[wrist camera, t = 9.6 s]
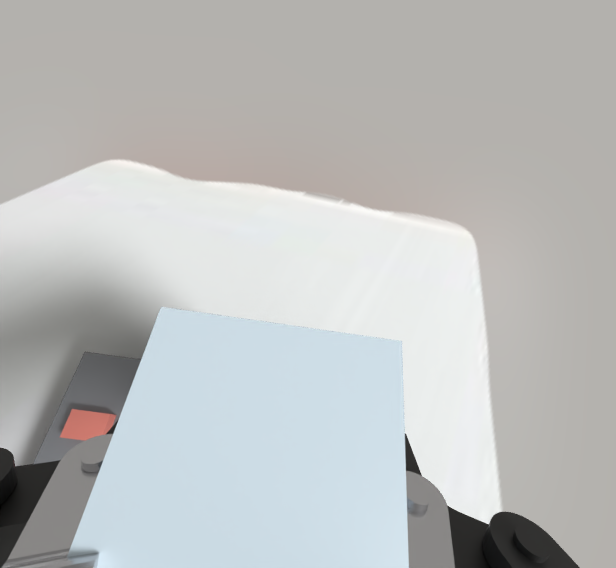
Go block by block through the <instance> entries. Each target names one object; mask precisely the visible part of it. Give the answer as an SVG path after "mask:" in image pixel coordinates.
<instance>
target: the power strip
mask: <svg viewBox="0 0 616 568" xmlns="http://www.w3.org/2000/svg"><path fill="white" fill-rule="evenodd" d="M140 362H141V359H135V358H127V357H120V356H112V355H105V354H98V353H90V352H85V353H84V355H83V357H82V359H81V361H80V363H79V366H78V368H77V370H76V372H75V374H74V376H73V379H72V381H71V383H70V385H69V387H68V389H67V392H66V394H65V396H64V398H63V400H62V402H61V404H60V407H59V409H58V411H57V413H56V415H55V417H54V420H53V422H52V424H51V426H50V428H49V430H48V433H47V435H46V437H45V439H44V441H43V443H42V445H41V448H40V450H39V452H38V454H37V456H36V458H35V461H34V463H33V464H38V463H45V462H52V461H58V460H61V459H62V458H63V457H64V455H65V454H66V453H67V452H68V451H70V450H71V449H72V448H73V447H75V446H76V445H78V444H80V443H81V442H83V441H85V440H87V439H90V438H93V437H96V436H100V435H105V434H106V433H107V432H108V431H109V430H110V429H111V427H112V426H113V425H114V424H115V423H116V422H117V420H118V419H119V417H120V415H121V412H122V409H123V407H124V404H125V402H126V399H127V396H128V394H129V391H130V388H131V386H132V383H133V380H134V378H135V375H136V372H137V370H138V367H139V364H140Z"/></svg>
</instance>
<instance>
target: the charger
mask: <svg viewBox="0 0 616 568" xmlns="http://www.w3.org/2000/svg"><path fill="white" fill-rule="evenodd" d="M90 553H99V559H98V565H97V568H409V556H408V524H407V491H406V459H405V426H404V393H403V361H402V341H398V340H391V339H384V338H377V337H370V336H363V335H355V334H348V333H341V332H334V331H327V330H320V329H313V328H306V327H299V326H292V325H285V324H278V323H271V322H264V321H257V320H250V319H243V318H236V317H229V316H222V315H215V314H208V313H201V312H194V311H187V310H180V309H173V308H166V307H161V308H160V311H159V314H158V316H157V319H156V322H155V324H154V327H153V330H152V332H151V335H150V338H149V340H148V343H147V346H146V348H145V351H144V354H143V356H142V359H141V362H140V364H139V367H138V370H137V372H136V375H135V378H134V380H133V383H132V386H131V388H130V391H129V394H128V396H127V399H126V402H125V404H124V407H123V409H122V412H121V415H120V417H119V420H118V423H117V425H116V428H115V431H114V433H113V436H112V439H111V441H110V444H109V447H108V449H107V452H106V455H105V457H104V460H103V463H102V465H101V468H100V471H99V473H98V476H97V479H96V481H95V484H94V487H93V489H92V492H91V495H90V497H89V500H88V503H87V505H86V508H85V511H84V513H83V516H82V518H81V521H80V524H79V526H78V529H77V532H76V534H75V537H74V540H73V542H72V545H71V548H70V550H69V553H68V556H67V557H69V556H76V555H83V554H90Z"/></svg>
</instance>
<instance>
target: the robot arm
mask: <svg viewBox="0 0 616 568" xmlns="http://www.w3.org/2000/svg"><path fill="white" fill-rule="evenodd" d="M118 420H119V419H118ZM118 420H117V422H116V423H115V424H114V425H113V426H112V427H111V429H110V430H109V431H108V432H107V433H106V434H105V435H100V436H96V437H93V438H90V439H87V440H85V441H83V442H81V443H80V444H78V445H76V446H75V447H73V448H72V449H71V450H70V451H68V452H67V453H66V454H65V455H64V457H63V458H62V459H61V460H58V461H52V462H45V463H38V464H31V465H24V466H16V467H15V463H14V457H13V454H12V453H11V452H10V451H9V450H7V449H4V448H0V568H97V565H98V559H99V553H90V554H83V555H76V556H69V557H67V556H68V553H69V550H70V548H71V545H72V542H73V540H74V537H75V534H76V532H77V529H78V526H79V524H80V521H81V518H82V516H83V513H84V511H85V508H86V505H87V503H88V500H89V497H90V495H91V492H92V489H93V487H94V484H95V481H96V479H97V476H98V473H99V471H100V468H101V465H102V463H103V460H104V457H105V455H106V452H107V449H108V447H109V444H110V441H111V439H112V436H113V433H114V431H115V428H116V425H117V423H118ZM405 459H406V491H407V524H408V556H409V568H579V567H578V565H577V564H576V563H575V562H574V561H573V560H572V559H571V558H570V557H569V556H568V555H567V553H566V552H565V551H564V550H563V549H562V548H561V547H560V546H559V545H558V544H557V543H556V542H555V540H553V538H552V537H551V536H550V535H549V534H547V533H546V532H545V531H544V530H543V529H542V528H540V527H539V526H538V525H536V524H535V523H533V522H532V521H530V520H528V519H526V518H524V517H523V516H520V515H518V514H515V513H511V512H499V513H497V514H495V515H494V516H493V517H492V519H491V521H490V523H489V525H488V524H486V523H484V522H481V521H479V520H476V519H474V518H472V517H469V516H467V515H465V514H462V513H460V512H458V511H456V510H454V509H452V508H450V507H449V506H447V504H446V501H445V499H444V497H443V496H442V494H441V493H440V491H439V490H438V489H437V488H436V487H435V486H434V485H433V484H432V483H431V482H430V481H428V480H427V479H426V478H424V477H422V475H421V473H420V470H419V467H418V465H417V462H416V459H415V457H414V454H413V452H412V449H411V446H410V444H409V441H408V438H407V436H406V434H405Z"/></svg>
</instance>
